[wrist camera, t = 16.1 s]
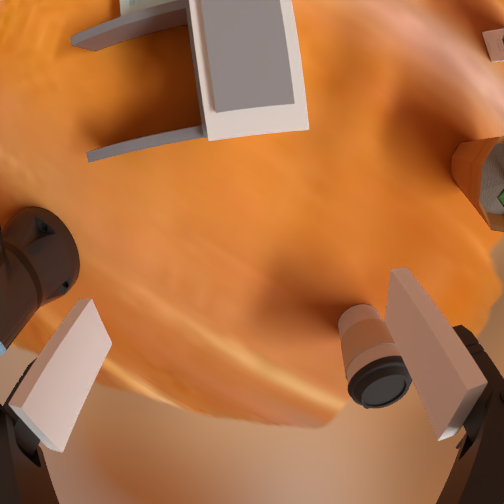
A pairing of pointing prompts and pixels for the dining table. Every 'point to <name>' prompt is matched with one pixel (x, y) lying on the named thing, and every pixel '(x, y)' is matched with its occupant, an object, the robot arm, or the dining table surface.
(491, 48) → the ink box
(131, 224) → the dining table surface
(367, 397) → the coffee cup
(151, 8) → the printer bay
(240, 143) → the dining table surface
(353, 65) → the dining table surface
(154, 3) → the tray
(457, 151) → the potted plant
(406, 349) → the robot arm
